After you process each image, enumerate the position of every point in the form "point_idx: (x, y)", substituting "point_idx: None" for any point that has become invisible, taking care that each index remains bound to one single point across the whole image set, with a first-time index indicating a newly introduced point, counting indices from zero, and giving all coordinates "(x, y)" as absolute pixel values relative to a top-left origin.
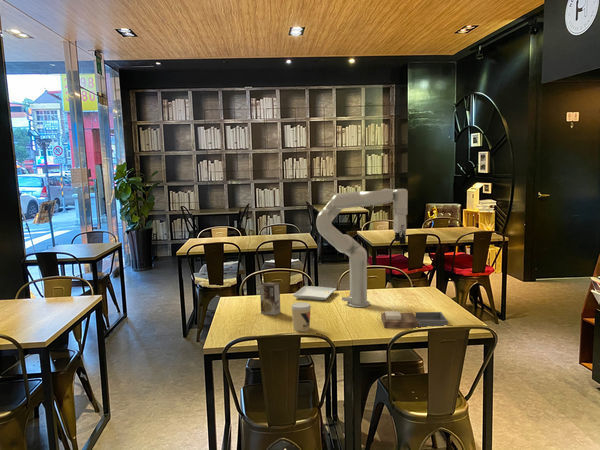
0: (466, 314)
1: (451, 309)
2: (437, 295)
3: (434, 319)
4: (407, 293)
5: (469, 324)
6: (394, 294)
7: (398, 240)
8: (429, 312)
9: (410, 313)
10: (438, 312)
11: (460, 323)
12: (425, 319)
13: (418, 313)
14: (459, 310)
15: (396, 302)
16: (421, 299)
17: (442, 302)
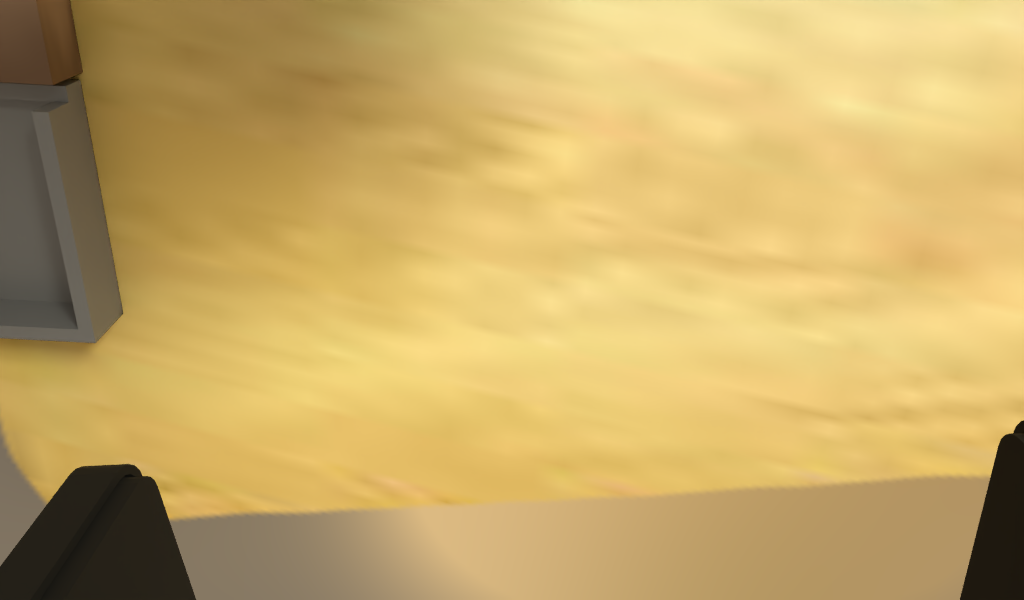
0: (260, 509)
1: (387, 450)
2: (816, 455)
3: (59, 254)
4: (970, 213)
5: (17, 463)
6: (979, 61)
7: (994, 582)
8: (60, 243)
9: (25, 53)
10: (76, 318)
11: (27, 415)
12: (43, 179)
13: (41, 136)
14: (361, 494)
15: (651, 17)
16: (717, 296)
17: (592, 438)
